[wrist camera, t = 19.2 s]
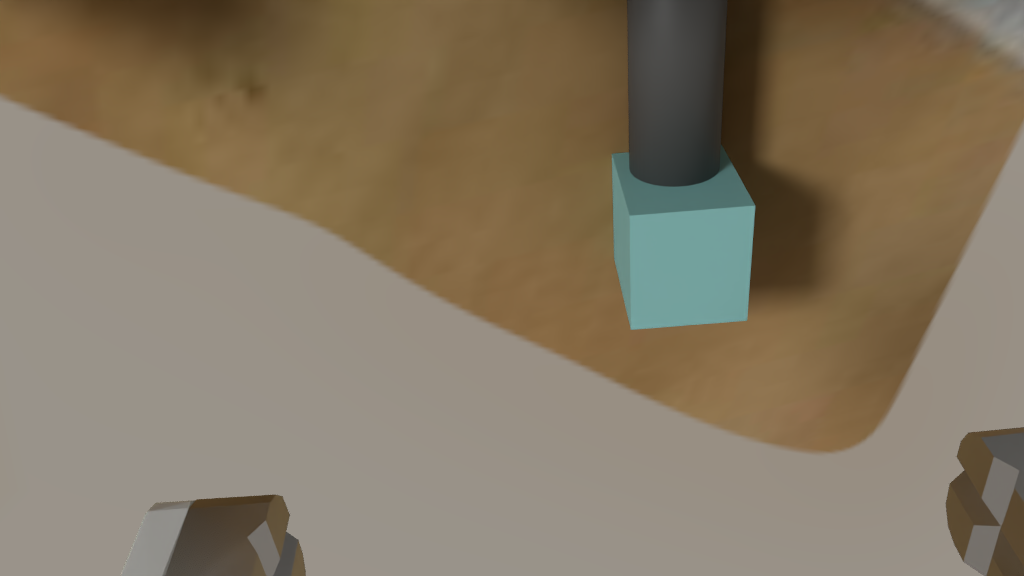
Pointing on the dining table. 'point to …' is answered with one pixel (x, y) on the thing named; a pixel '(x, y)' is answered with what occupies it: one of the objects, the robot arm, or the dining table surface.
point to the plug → (679, 174)
